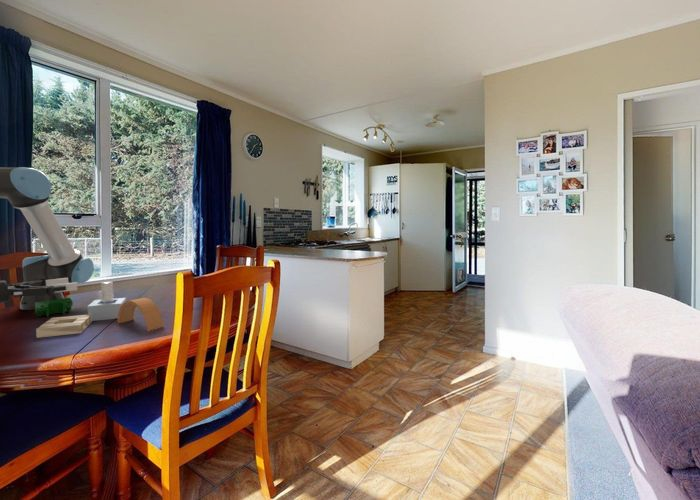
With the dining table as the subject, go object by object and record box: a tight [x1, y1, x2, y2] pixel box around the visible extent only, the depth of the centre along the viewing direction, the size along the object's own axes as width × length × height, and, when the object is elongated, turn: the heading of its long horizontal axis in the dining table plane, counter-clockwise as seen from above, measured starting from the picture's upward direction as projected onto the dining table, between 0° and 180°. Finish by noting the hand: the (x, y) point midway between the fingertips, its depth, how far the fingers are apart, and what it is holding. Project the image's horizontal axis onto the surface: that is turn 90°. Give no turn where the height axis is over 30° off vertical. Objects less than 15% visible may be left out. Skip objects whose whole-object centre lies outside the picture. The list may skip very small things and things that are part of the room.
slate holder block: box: [87, 297, 127, 322], centre depth 138 cm, size 11×11×6 cm
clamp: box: [34, 297, 74, 318], centre depth 139 cm, size 12×6×9 cm, turn 133°
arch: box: [117, 297, 164, 332], centre depth 126 cm, size 6×20×10 cm, turn 61°
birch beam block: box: [35, 314, 93, 339], centre depth 121 cm, size 14×12×3 cm
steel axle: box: [99, 281, 114, 304], centre depth 137 cm, size 4×4×14 cm
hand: (72, 283), depth 126 cm, fingers open, 13 cm apart
